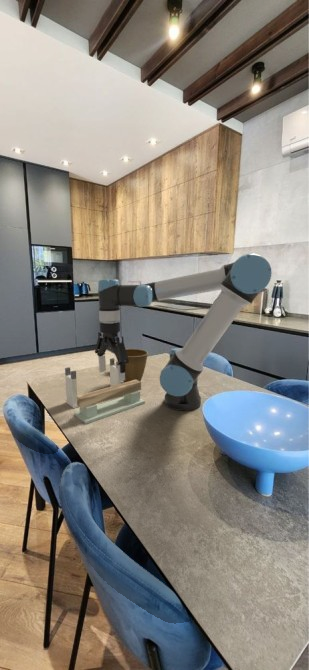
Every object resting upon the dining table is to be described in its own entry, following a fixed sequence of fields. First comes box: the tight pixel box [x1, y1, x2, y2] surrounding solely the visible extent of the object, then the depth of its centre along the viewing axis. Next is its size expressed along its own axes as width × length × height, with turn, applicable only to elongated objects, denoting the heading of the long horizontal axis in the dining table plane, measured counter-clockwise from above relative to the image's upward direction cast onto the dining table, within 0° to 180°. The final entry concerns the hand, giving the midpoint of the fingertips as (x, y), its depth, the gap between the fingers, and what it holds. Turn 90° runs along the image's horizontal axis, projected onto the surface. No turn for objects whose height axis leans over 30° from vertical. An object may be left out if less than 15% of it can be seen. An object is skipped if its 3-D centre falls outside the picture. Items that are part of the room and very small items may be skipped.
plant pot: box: [122, 348, 149, 383], centre depth 136 cm, size 15×15×16 cm
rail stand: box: [64, 357, 122, 409], centre depth 120 cm, size 7×23×15 cm, turn 131°
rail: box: [77, 380, 142, 409], centre depth 110 cm, size 4×27×4 cm, turn 131°
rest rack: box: [73, 390, 146, 425], centre depth 111 cm, size 9×27×5 cm, turn 131°
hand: (111, 376), depth 109 cm, fingers open, 13 cm apart
